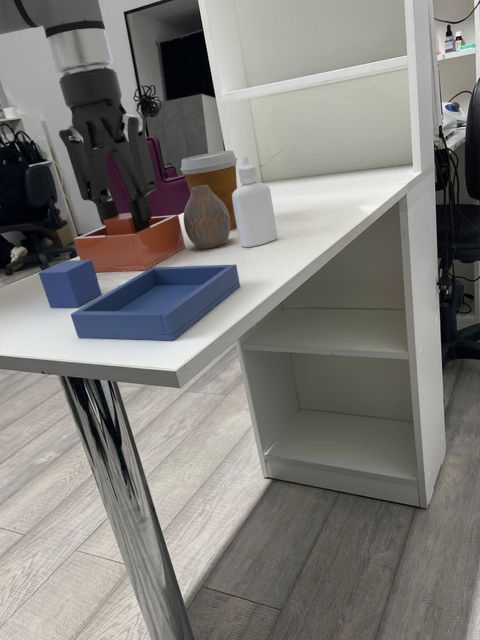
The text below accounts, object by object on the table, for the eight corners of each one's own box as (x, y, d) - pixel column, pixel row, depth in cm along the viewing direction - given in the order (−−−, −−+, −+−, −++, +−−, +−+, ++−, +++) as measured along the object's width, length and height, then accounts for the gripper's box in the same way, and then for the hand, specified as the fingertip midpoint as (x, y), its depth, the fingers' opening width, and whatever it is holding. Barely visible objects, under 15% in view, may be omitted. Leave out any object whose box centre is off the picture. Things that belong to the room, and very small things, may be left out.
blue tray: (77, 337, 55) (70, 314, 54) (156, 287, 67) (151, 267, 66) (173, 340, 50) (167, 314, 49) (240, 286, 62) (236, 264, 61)
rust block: (112, 251, 80) (103, 220, 78) (129, 242, 84) (122, 213, 82) (136, 249, 78) (128, 218, 76) (153, 240, 82) (146, 211, 80)
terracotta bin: (84, 272, 80) (73, 238, 78) (128, 250, 89) (120, 219, 87) (145, 270, 75) (136, 234, 73) (185, 247, 84) (178, 214, 82)
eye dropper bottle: (239, 242, 81) (224, 159, 76) (276, 236, 81) (264, 152, 76) (240, 249, 77) (225, 162, 72) (279, 242, 77) (266, 154, 72)
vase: (231, 236, 86) (220, 179, 82) (236, 245, 80) (225, 184, 76) (188, 244, 85) (176, 188, 82) (190, 254, 79) (177, 194, 76)
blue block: (50, 307, 66) (38, 272, 64) (74, 294, 70) (64, 260, 68) (78, 307, 64) (66, 271, 62) (102, 294, 68) (91, 259, 66)
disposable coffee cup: (182, 235, 93) (166, 163, 88) (217, 221, 99) (204, 153, 94) (225, 235, 87) (211, 158, 82) (259, 220, 94) (247, 148, 89)
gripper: (156, 58, 71) (194, 234, 80) (56, 82, 78) (102, 240, 88) (122, 59, 65) (168, 248, 74) (17, 84, 72) (71, 254, 82)
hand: (132, 244), depth 81 cm, fingers closed on rust block, 4 cm apart
